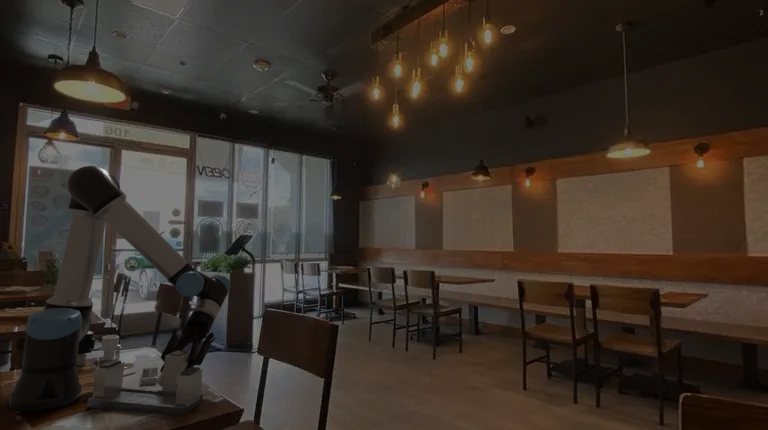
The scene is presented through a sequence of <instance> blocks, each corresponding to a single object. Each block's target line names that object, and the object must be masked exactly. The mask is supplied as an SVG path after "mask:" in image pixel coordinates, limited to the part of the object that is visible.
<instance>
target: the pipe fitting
mask: <svg viewBox="0 0 768 430" xmlns="http://www.w3.org/2000/svg"><path fill="white" fill-rule="evenodd" d="M119 341H120V336H119V335H116V334H109V335H103V336H102V337H101V345H99V346H97V350H98V351H102V352H103V357H102V358H103V361H107V362H109V361H112V360H114V359H115V349H116V346H117V345H119V346H120V347H121V348H122V346H123V345H122V344H119Z"/></svg>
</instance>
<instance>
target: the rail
mask: <svg viewBox="0 0 768 430" xmlns="http://www.w3.org/2000/svg"><path fill="white" fill-rule="evenodd" d="M124 363H125V361H122V360H121V359H119V360H114V359H113V360H109V361H107V362H104V363H102V364H98V365H99V366H98V367H95V370H94V380H93V389H92V397H89V398H88V399H87V406H86V407H87V408H91V409H93V408H95V409H101V410H102V409H104V410H112V411H113V410H114V411H121V412H131V413H132V412H134V413H143V414H154V415H162V416H163V415H165V416H172V417H184V416H185V415H186V413H187V412H188V413H190V412H191V411H192V410H193V408H194V407H195V408H196V407H198V406H199V405H200V403H201V402H202V403H203V399H204V398H203V397H204V394H203V393H202V392H201V391H202V382H203V368H201V367H198V366H194V367H190V368H189V369H187V370H185V371H183V372H181V374H180V375H178V380H177V391H176V392H171V391H162V390H158V389H149V388H148V389H147V388H138V387H137V388H136V387H126V386H124V387H123V379H124V370H125V369H124ZM202 403H201V404H202ZM198 404H199V405H198ZM197 405H198V406H197ZM195 408H194V409H195ZM190 410H191V411H190ZM188 413H187V414H188ZM183 415H184V416H183Z"/></svg>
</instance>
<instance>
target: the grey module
mask: <svg viewBox="0 0 768 430" xmlns="http://www.w3.org/2000/svg"><path fill="white" fill-rule="evenodd" d="M190 352H191V351H188V350H182V351H180V350H177V351H175V352H173V353H170V354H168V355H166V356H165V363H164V362H163V364H164V374H163V384H162V387H161V391H171V392H176V391H177V387H176V385H175V384H174V383H175V381H176V379H177V377H178V375H179V373H180V371H181V369H182V367H183V365H184V363H185V362H187V363H188V361H187V360H189V356H190Z"/></svg>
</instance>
